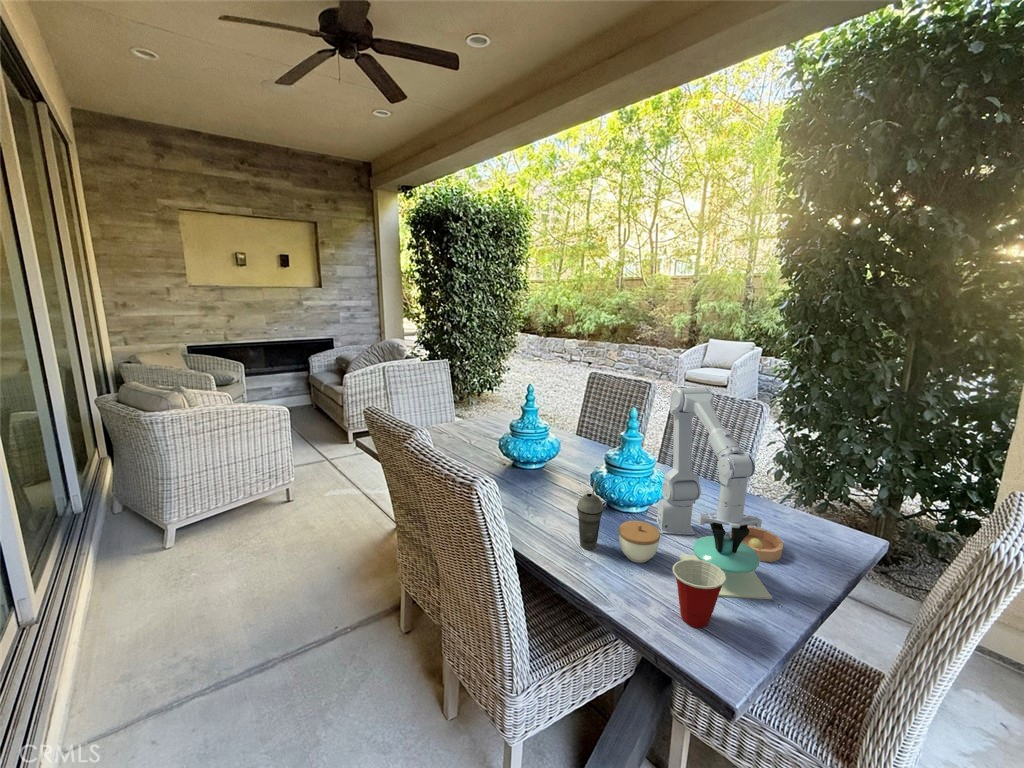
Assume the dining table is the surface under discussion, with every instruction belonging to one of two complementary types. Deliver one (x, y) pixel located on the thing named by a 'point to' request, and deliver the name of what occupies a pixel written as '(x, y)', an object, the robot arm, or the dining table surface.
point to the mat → (739, 584)
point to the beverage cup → (589, 519)
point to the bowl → (764, 544)
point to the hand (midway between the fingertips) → (725, 550)
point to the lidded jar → (638, 540)
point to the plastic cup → (697, 590)
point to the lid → (726, 555)
